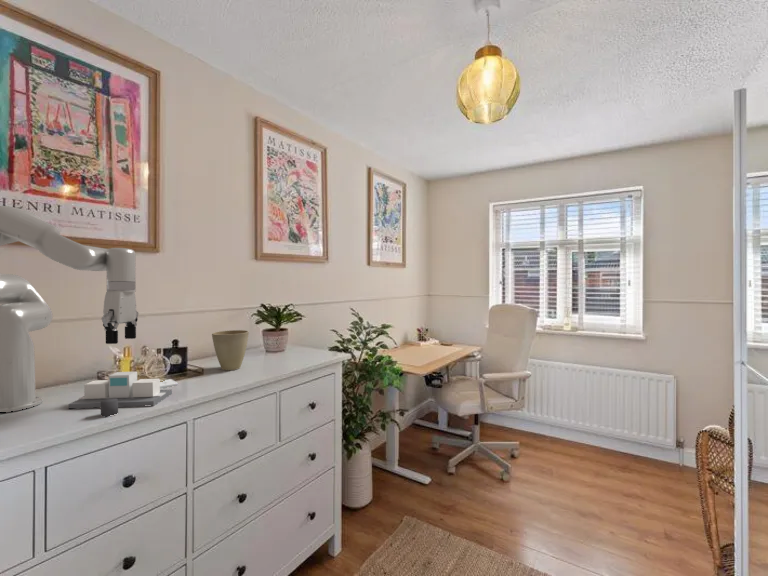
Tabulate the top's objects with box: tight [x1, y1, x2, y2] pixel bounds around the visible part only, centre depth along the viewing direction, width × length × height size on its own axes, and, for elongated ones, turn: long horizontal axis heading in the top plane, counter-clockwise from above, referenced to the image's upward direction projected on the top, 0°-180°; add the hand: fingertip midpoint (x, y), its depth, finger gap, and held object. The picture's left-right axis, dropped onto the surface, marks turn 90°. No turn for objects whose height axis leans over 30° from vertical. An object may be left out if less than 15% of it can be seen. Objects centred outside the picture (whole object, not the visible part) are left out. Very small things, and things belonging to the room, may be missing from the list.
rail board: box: [67, 378, 173, 409], centre depth 117 cm, size 24×12×6 cm, turn 96°
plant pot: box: [211, 329, 250, 371], centre depth 160 cm, size 15×15×16 cm
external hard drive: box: [160, 378, 179, 389], centre depth 133 cm, size 2×8×12 cm
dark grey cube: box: [100, 399, 119, 417], centre depth 105 cm, size 4×4×4 cm
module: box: [108, 371, 138, 398], centre depth 117 cm, size 6×5×7 cm
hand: (121, 340), depth 117 cm, fingers open, 9 cm apart
